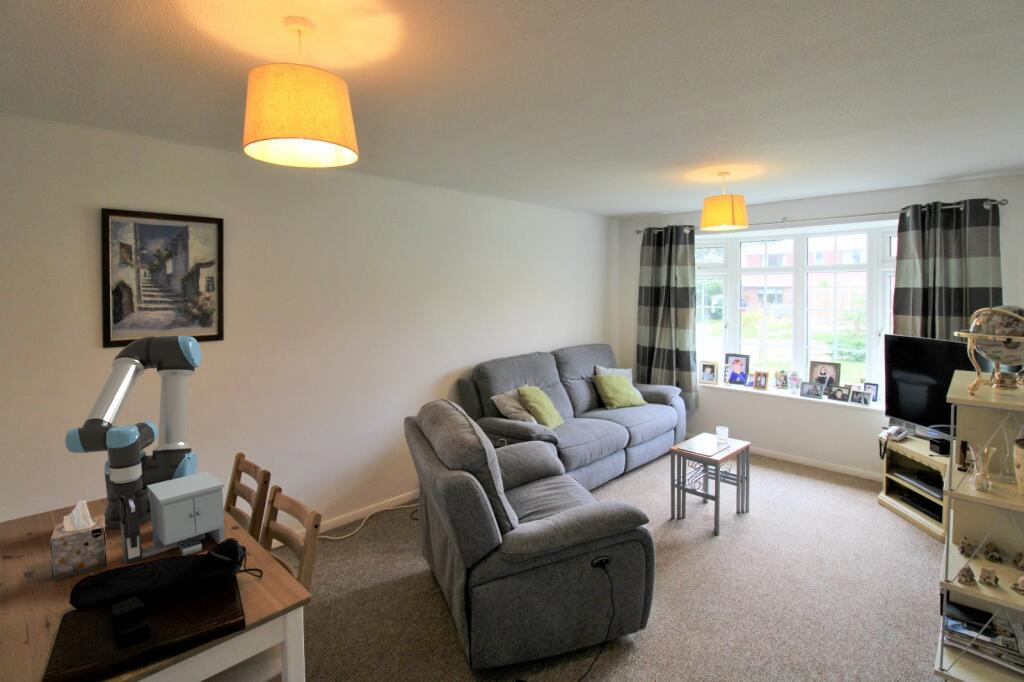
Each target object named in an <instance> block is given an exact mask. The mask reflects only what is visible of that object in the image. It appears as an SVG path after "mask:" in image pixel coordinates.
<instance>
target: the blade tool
mask: <svg viewBox="0 0 1024 682" xmlns="http://www.w3.org/2000/svg"><path fill="white" fill-rule="evenodd" d="M120 525H121V528H120V535H121V545H122V558H123V561H124V562H125V564H126V565H127V564H128V565H129V564H130V563H134V562H136V561H140V560H143V559H145V558H147V557H150V556H153V555H156V554H159V553H163V552H166V551H169V550H172V549H173V550H174V549H176V548H179V543H182V542H186V541H189V540H192V539H196V538H198V539H199V541H201V540H204V539H206V533H203V534H200V535H197V536H194V537H190V538H187V539H184V540H181V541H178V542H174V543H171V544H168V545H164V544H160V545H157V546H154V545H153V546H152V547H148V548H145V549H143V547H142V536H141V535H142V534H141V533H142V532H140V535H139V548H140V556H137V557H134V558H131V559H129V558H128V547H127V539H125V537H126V536H127V526H126V519H125V520H121V521H120ZM139 530H140V531H141V524H140V521H139Z"/></svg>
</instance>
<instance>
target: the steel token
mask: <svg viewBox="0 0 1024 682" xmlns="http://www.w3.org/2000/svg"><path fill="white" fill-rule="evenodd" d="M202 545H203V544H202V542H201V540H199V539H198V538H196V539H192V540H189V541H186V542H182V543H179V547H178V548H179V552H180V553H181V554H182V556H183V557H184V556H188V555H191V554H195V553H197V552H201V551H203V546H202Z"/></svg>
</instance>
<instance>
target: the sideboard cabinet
mask: <svg viewBox="0 0 1024 682" xmlns="http://www.w3.org/2000/svg"><path fill="white" fill-rule="evenodd" d="M224 487H225V483H223V482H222V481H220V480H219V479H218V478H217V477H216V476H215V475H213V474H211V472H210V471H203V472H198V473H195V474H194V475H190V476H185V477H181V478H177V479H173V480H168V481H164V482H160V483H156V484H151V485H147V489H148V490H149V495H150V507H151V519H150V520H151V529H152V544H153V547H154V546H157V545H160V544H164V545H168V544H171V543H174V542H178V541H181V540H184V539H187V538H190V537H194V536H197V535H200V534H203V533H204V534H206V533H207V534H208V535H209V536H210V537H211V538H212V539H213V540H214V541H215V542H216V544H218V543H220V542H222V541H224V540H225V541H226V532H225V531H226V529H225V527H226V526H225V513H224V497H223V496H224V495H223V489H224Z"/></svg>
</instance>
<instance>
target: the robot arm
mask: <svg viewBox="0 0 1024 682" xmlns="http://www.w3.org/2000/svg"><path fill="white" fill-rule="evenodd" d="M201 364H202V351H201V347H200V344H199V342H198V341H197V339H196V338H194V337H193V336H188V335H167V336H166V335H163V336H160V335H159V336H144V337H141V338H137V339H135V340H133V341H132V342H130V343H129V344H127V345H126V346H125V347H124V348H122V350H121V351H119V352H118V353H117V355H115V356H114V359H113V361H112V363H111V369H112V370H111V372H110V374H109V376H108V377H107V380H106V382H105V384H104V386H103V387H102V389H101V391H100V393H99V395H98V397H97V398H96V401H95V402H94V404H93V406H92V408H91V410H90V412H89V414H88V416H87V417H86V419H85V421H84V423H83V424H82V426H81V427H80V426H79V427H74V428H71V429H70V430H68V432H67V433H66V435H65V440H64V445H65V448H66V449H67V450H68V452H70V453H72V454H73V453H75V454H81V453H83V454H87V453H98V452H99V453H100V452H107V456H108V460H106V462H105V463H104V473H103V475H104V480H105V490H106V499H107V501H106V506H105V509H104V511H103V515H104V516H105V524H106V528H105V529H110V530H111V529H112V530H116V529H117V530H118V529H121V525H120V521H121V520H125V519H126V526H127V536H126V537H125V539H127V547H128V558H129V559H131V558H134V557H137V556H140V548H139V535H140V533H141V529H140V530H139V521H140V525H141V524H143V523H145V522H148V521H150V520H152V519H151V507H150V494H149V490H148V489H147V485H151V484H156V483H160V482H164V481H168V480H173V479H177V478H181V477H185V476H190V475H194V474H197V469H198V463H199V461H198V454H197V453H196V452H193V451H192V446H191V445H190V444H189V443H188V425H189V402H190V401H189V400H190V378H191V376H192V375H194V374H195V373H196V372H195V370H196V369H197V368H199V367H200V366H201ZM149 369H156V374H158V376H160V378H161V379H160V380H161V381H160V400H159V418H158V419H159V420H158V422H159V423H158V427H157V424H155V423H153V422H151V421H140V422H138V423H135V424H124V425H116V423H117V422H118V419H119V417H120V415H121V414H122V411H123V409H124V407H125V405H126V403H127V400H128V398H129V396H130V395H131V392H132V390H133V388H134V386H135V384H136V382H137V380H138V378H139V377H141V376H142V375H144V374H145V371H146V370H149ZM157 439H158V440H157ZM156 440H157V441H158V442H157V445H156V446H155V447H154V448H153V449H152V454H149V455H147V452H146V451H145V450H144V449H146V448H147V447H149V446H151V445H152V444H153V443H154V442H155V441H156Z"/></svg>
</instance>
